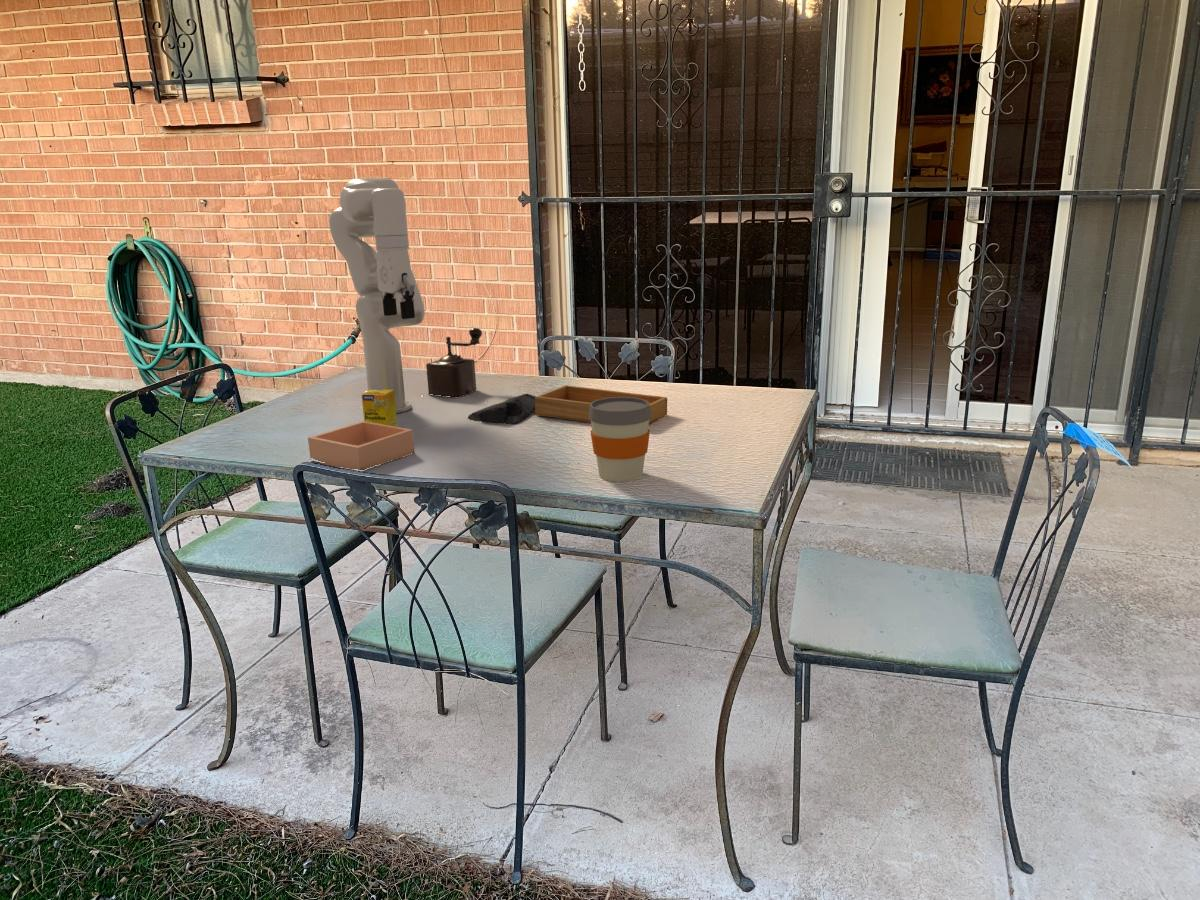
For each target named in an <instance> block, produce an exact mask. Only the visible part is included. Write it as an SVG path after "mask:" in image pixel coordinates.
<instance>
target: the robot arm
mask: <svg viewBox="0 0 1200 900" xmlns="http://www.w3.org/2000/svg"><path fill="white" fill-rule="evenodd" d="M405 198H406V197H405V193H404V191H403V190H402V189H401V188H399V185H398V184H397V183H396V182H395V180H393V179H391V178H389V177H377V178H376V177H373V178H369V177H368V178H366V177H365V178H364V177H363V178H361V177H360V178H359V177H358V178H354V179H352V180H350V181H348V182H347V183H346V184H345V186H344V187H343V188H342V190H341V192H340V198H339V205H340V207H338V208H336V209H335V210H333V211H332V212H331V213H330V215H329V220H328V221H329V224H328V225H329V229H330V235H331V237H332V241H333V243H334V245H335V247H336V248H337V250H338V252H339V253H340V254H341V256H342V257H343V259H344V260H345V261H346V264H347V267H348V270H349V273H350V276H351V280H352V281H351V282H352V283H353V286H354V289H355V291H356V294H357V295H359V297H358V298H357V300H356V302H355V312H356V316H357V320H358V324H359V328H360V332H361V338H362V344H363V345H362V346H363V354H364V355H363V356H364V363H365V374H366V381H367V390H366V391H365V392H367V391H369V390H371V389H380V390H394V394H395V406H396V414H400V413H404V412H406V411H409V410H410V409H412V403H411V401H409V400H406V394H405V393H406V392H405V384H404V372H403V362H402V351H401V350H402V349H401V344H400V342H399V340H398V338H397V337H396V336H394V334H392V332H390V330H389V329H394V328H401V327H412V326H417V325H420V324H422V322H423V321H424V319H425V313H426V312H425V311H426V310H425V306H424V305H425V304H424V301H423V298H422V295H421V291H420V289H419V286H418V283H417V281H416V278H415V275H414V273H413V270H412V266H411V262H410V255H409V251H408V250H410V244H409V242H410V241H409V235H408V234H409V231H408V221H407V210H406V209H407V208H406V207H407V204H406V199H405ZM361 238H375V239H374V241H375V248H376V250H375V249H374V248H373V247H372V245H369V243H367V242H366V241H364V240H362V239H361ZM360 397H361V399H362V395H361V396H360Z"/></svg>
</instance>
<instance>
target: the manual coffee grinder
mask: <svg viewBox="0 0 1200 900" xmlns="http://www.w3.org/2000/svg"><path fill="white" fill-rule="evenodd" d="M468 333H469V334H468V335H469V336H470V338H471V339H470V341H469V342H468V343H467V342H465V343H464V342H463V343H462V342H452V341H451V337H450V336H446V338H445V339H446V341H445V344H446V346H447V354H446V355H443V356H442V357H440V358H438V360H434V361H431V362H429V363H428V362H427V363H426V365H425V366H426V377H427V379H426V380H427V389H428V395H429V394H433V395H441V396H440V397H442V396H450V397H449V398H453V397H459V398H461V397H464V396H466V394H467V395H469V394H471V393H473V392H475V391H477V390H478V388H477V380H476V365H475V359H474V358H473V359H472V358H463V357H462V356H461V354H459V355H458V354H456V353H455V354H453V353H452V347H457V346H459V347H471V346H474V347H475V346H476V345H479V344H480V343H481V342H480V338H481V337H482V335H483V331H482V329H480V328H477V327H472V328H470V329H469V331H468ZM451 346H452V347H451ZM476 389H477V390H476ZM472 391H473V392H472ZM470 392H471V393H470ZM463 395H464V396H463ZM460 396H461V397H460Z"/></svg>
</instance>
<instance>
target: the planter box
mask: <svg viewBox="0 0 1200 900" xmlns="http://www.w3.org/2000/svg"><path fill="white" fill-rule="evenodd" d="M413 431H414V430H413V429H409V428H406V427H405V428H404V427H398V426H397V427H394V426H389V425H383V424H378V423H372V422H367V421H364V420H362V421H359V422H355V423H352V424H349V425H346V426H345V425H344V426H342V427H338V428H336V429H332V430H329V431H326V432H322V433H320V434H316V435H312V436H309V437H307V442H308V450H309V458H313V459H315V460H318V461H321V462H325V463H321V465H324V464H325V466H329V465H331V466H330V467H333V466H335V467H334V468H338V467H343V468H349V469H358V470H365V469H367V468H370V467H373V466H375V465H379V464H382V463H385V462H388V461H391V460H394V459H397V458H400V457H402V458H404V457H403V456H405V457H407V456H406V455H408V456H410V455H409V454H411V453H413V454H415V445H414V443H415V442H414V432H413ZM411 455H412V454H411ZM400 459H401V458H400ZM397 460H398V459H397ZM394 461H395V460H394ZM391 462H392V461H391ZM388 463H389V462H388Z"/></svg>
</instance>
